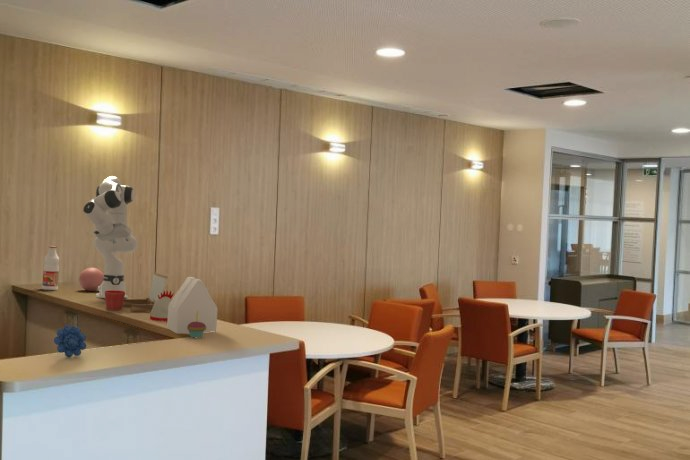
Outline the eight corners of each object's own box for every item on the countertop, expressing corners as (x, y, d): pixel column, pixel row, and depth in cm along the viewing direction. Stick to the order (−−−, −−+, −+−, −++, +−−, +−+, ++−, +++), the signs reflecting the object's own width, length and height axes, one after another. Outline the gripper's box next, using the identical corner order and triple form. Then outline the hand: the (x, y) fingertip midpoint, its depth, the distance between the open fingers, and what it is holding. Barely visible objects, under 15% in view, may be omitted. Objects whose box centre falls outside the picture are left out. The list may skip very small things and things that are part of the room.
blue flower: (55, 360, 244) (57, 327, 244) (51, 356, 250) (53, 324, 249) (88, 358, 251) (90, 326, 251) (83, 354, 256) (85, 323, 256)
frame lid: (154, 272, 396) (155, 272, 396) (148, 297, 395) (149, 298, 395) (165, 276, 378) (167, 276, 379) (159, 302, 377) (161, 303, 378)
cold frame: (120, 306, 387) (120, 298, 387) (148, 305, 396) (149, 298, 396) (131, 312, 368) (131, 303, 368) (160, 311, 377) (161, 303, 377)
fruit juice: (60, 289, 440) (63, 246, 440) (46, 290, 433) (49, 246, 433) (53, 288, 446) (56, 245, 446) (39, 288, 439) (42, 245, 439)
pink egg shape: (113, 292, 446) (114, 269, 446) (81, 292, 435) (82, 268, 435) (106, 289, 459) (108, 266, 459) (75, 289, 448) (77, 266, 448)
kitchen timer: (180, 321, 350) (182, 292, 350) (154, 321, 343) (156, 292, 343) (173, 316, 362) (174, 288, 362) (147, 317, 355) (148, 288, 355)
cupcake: (185, 335, 310) (186, 309, 310) (203, 335, 314) (205, 309, 314) (188, 339, 302) (190, 312, 302) (207, 338, 306) (209, 312, 306)
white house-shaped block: (176, 333, 314) (179, 279, 314) (167, 328, 327) (170, 276, 327) (216, 332, 324) (219, 280, 323) (205, 327, 337) (208, 277, 337)
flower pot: (111, 310, 367) (112, 293, 367) (99, 308, 374) (100, 290, 374) (128, 309, 376) (129, 292, 376) (116, 307, 383) (117, 290, 382)
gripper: (124, 218, 367) (139, 234, 377) (94, 224, 374) (109, 240, 384) (120, 226, 363) (135, 242, 372) (90, 233, 370) (106, 248, 380)
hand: (122, 241), depth 378 cm, fingers open, 8 cm apart
